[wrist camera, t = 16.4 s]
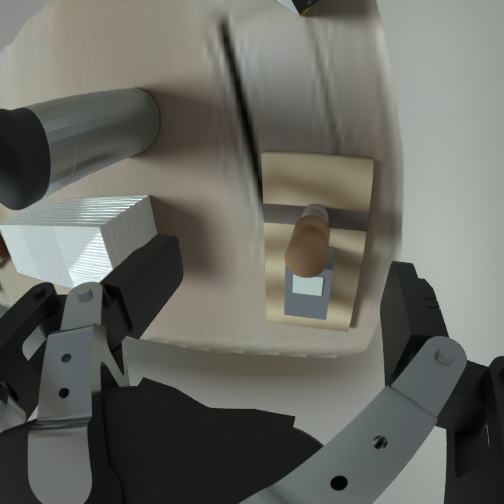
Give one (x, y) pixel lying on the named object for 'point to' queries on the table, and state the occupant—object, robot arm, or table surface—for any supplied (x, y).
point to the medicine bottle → (298, 5)
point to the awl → (309, 243)
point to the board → (340, 223)
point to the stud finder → (309, 292)
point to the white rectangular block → (78, 237)
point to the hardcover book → (3, 251)
